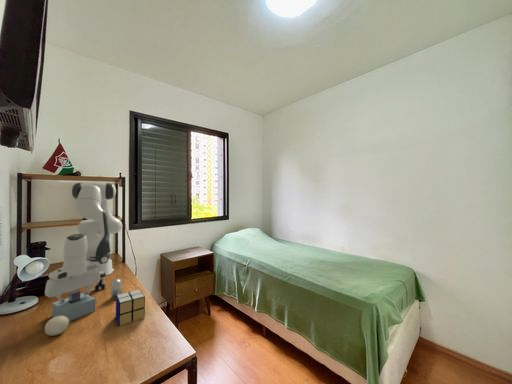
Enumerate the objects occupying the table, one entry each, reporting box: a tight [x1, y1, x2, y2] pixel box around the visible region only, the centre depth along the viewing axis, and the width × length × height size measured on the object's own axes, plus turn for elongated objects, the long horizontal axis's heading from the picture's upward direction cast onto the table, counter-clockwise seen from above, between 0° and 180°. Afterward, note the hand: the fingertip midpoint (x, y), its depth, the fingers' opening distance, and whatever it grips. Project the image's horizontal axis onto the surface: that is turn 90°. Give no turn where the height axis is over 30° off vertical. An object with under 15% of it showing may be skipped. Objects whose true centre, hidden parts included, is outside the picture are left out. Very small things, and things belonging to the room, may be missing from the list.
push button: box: [91, 271, 106, 291], centre depth 126 cm, size 7×5×10 cm
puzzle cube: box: [115, 288, 146, 327], centre depth 97 cm, size 10×10×10 cm
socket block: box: [51, 292, 96, 322], centre depth 100 cm, size 12×12×6 cm
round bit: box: [110, 278, 123, 300], centre depth 117 cm, size 5×5×9 cm
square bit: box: [68, 289, 81, 303], centre depth 100 cm, size 3×3×9 cm
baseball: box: [44, 316, 70, 337], centre depth 86 cm, size 7×7×7 cm
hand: (74, 299), depth 100 cm, fingers open, 8 cm apart
